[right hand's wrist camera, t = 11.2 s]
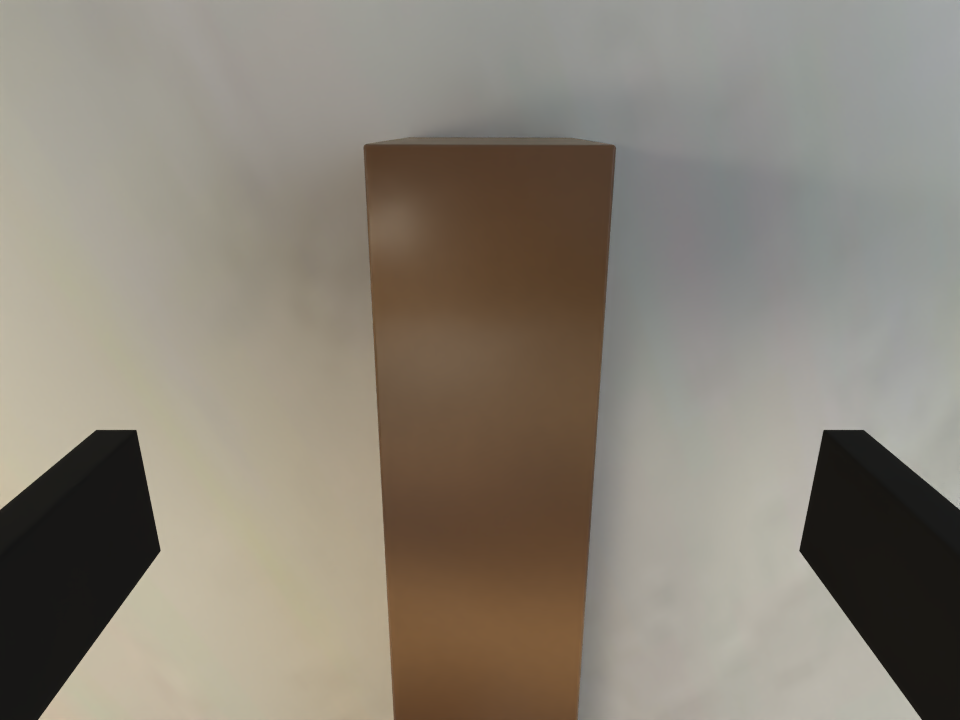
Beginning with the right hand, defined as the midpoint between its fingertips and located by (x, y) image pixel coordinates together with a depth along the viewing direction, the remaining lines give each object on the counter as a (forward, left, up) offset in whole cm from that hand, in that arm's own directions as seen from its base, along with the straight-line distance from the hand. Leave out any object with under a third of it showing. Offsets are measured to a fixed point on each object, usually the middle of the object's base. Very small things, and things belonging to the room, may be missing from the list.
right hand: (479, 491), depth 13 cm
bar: (+7, -20, -11) cm, 24 cm away
